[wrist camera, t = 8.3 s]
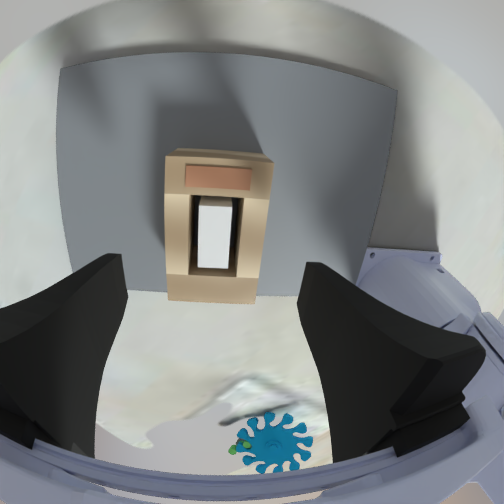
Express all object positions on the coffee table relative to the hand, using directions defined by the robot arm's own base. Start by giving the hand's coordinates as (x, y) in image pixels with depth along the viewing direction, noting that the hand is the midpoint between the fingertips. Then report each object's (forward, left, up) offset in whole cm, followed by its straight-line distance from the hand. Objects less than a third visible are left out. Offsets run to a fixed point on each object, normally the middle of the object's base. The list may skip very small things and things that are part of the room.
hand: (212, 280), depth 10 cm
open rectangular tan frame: (0, 0, -7) cm, 7 cm away
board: (0, -2, -8) cm, 9 cm away
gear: (-7, +29, -9) cm, 31 cm away
